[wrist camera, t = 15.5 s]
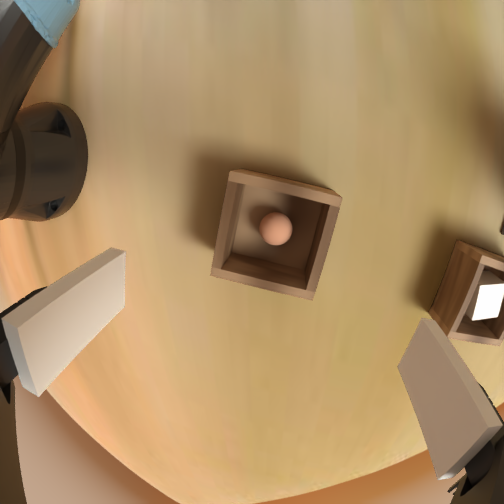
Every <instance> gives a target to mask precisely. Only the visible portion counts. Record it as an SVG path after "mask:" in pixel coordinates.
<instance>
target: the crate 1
mask: <svg viewBox="0 0 504 504" xmlns="http://www.w3.org/2000/svg"><path fill="white" fill-rule="evenodd" d="M341 201H342V197H341V196H340V195H338V194H337V193H336V192H335V191H333V190H329V189H326V188H322V187H318V186H314V185H310V184H306V183H302V182H298V181H294V180H290V179H286V178H281V177H277V176H273V175H268V174H264V173H259V172H255V171H250V170H245V169H237V170H232V171H230V172H229V177H228V182H227V187H226V192H225V197H224V202H223V207H222V213H221V218H220V223H219V229H218V234H217V240H216V245H215V251H214V257H213V262H212V268H211V274H210V276H214V277H218V278H222V279H226V280H230V281H234V282H238V283H242V284H246V285H250V286H254V287H258V288H262V289H266V290H270V291H274V292H278V293H282V294H287V295H291V296H295V297H299V298H303V299H308V300H313V297H314V294H315V291H316V288H317V285H318V282H319V278H320V275H321V272H322V269H323V265H324V262H325V259H326V255H327V252H328V248H329V245H330V241H331V238H332V234H333V231H334V227H335V224H336V220H337V216H338V213H339V209H340V205H341ZM273 212H279V213H282V214H284V215H286V216H287V217H288V218H289V219H290V221H291V223H292V228H293V229H292V234H291V237H290V238H289V240H288V241H287V242H285V243H284V244H281V245H271V244H268V243H267V242H265V241H264V240H263V238H262V237H261V235H260V231H259V227H260V223H261V221H262V219H263V218H264V217H265V216H266V215H268V214H270V213H273Z"/></svg>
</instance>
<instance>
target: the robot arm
mask: <svg viewBox="0 0 504 504" xmlns="http://www.w3.org/2000/svg"><path fill="white" fill-rule="evenodd" d="M79 6H80V0H0V220H3V219H6V218H13V219H21V220H29V221H39V222H40V221H46V220H50V219H53V218H56V217H58V216H61V215H62V214H64V213H65V212H67V211H68V210H69V209H70V208H71V207H72V205H73V204H74V203H75V201H76V200H77V198H78V196H79V194H80V192H81V189H82V187H83V184H84V180H85V176H86V171H87V162H88V149H87V140H86V135H85V132H84V129H83V126H82V124H81V121H80V120H79V118H78V116H77V115H76V114H75V113H74V112H73V111H72V110H71V109H70V108H69V107H67V106H65V105H63V104H58V103H49V102H44V103H38V104H35V105H32V106H29V107H26V108H24V109H21V110H19V109H20V107H21V105H22V103H23V100H24V98H25V96H26V94H27V92H28V90H29V88H30V86H31V84H32V83H33V81H34V79H35V77H36V75H37V73H38V72H39V70H40V68H41V67H42V65H43V63H44V62H45V60H46V58H47V57H48V55H49V54H50V52H51V50H52V49H53V48H56V47H57V45H58V40H59V38H60V37H61V35H62V34H63V32H64V31H65V29H66V27H67V26H68V24H69V23H70V21H71V20H72V18H73V17H74V15H75V14H76V12H77V11H78V8H79ZM125 261H126V251H123V250H119V249H115V248H110V249H108V250H106V251H105V252H103V253H101V254H100V255H98V256H96V257H94V258H93V259H91V260H90V261H88V262H86V263H85V264H83V265H81V266H80V267H78V268H76V269H75V270H73V271H72V272H70V273H68V274H67V275H65V276H64V277H62V278H61V279H59V280H57V281H56V282H54V283H53V284H51V285H50V286H48V287H47V286H46V287H43V288H40V289H37V290H34V291H33V292H31V293H30V294H28V295H27V296H25V298H22V299H21V300H19V301H18V303H15V304H13V305H12V306H10V307H9V308H7V309H6V310H4V311H3V312H1V313H0V504H27V502H26V497H25V493H24V488H23V482H22V477H21V470H20V463H19V455H18V447H17V435H16V420H15V386H14V382H13V379H14V378H15V377H16V376H17V375H19V378H20V381H21V383H22V386H23V387H24V388H25V389H27V390H28V391H30V392H31V393H33V394H35V395H36V396H38V397H39V396H40V395H41V394H42V393H43V391H44V390H45V389H46V388H47V387H48V386H49V385H50V384H51V383H52V382H53V381H54V379H55V378H56V377H57V376H58V375H59V374H60V373H61V372H62V371H63V370H64V369H65V368H66V366H67V365H68V364H69V363H70V362H71V361H72V360H73V359H74V358H75V357H76V356H77V355H78V354H79V353H80V352H81V351H82V349H83V348H84V347H85V346H86V345H87V344H88V343H89V342H90V341H91V340H92V339H93V338H94V337H95V336H96V335H97V334H98V333H99V332H100V331H101V330H102V329H103V328H104V327H105V326H106V325H107V324H108V323H109V322H110V321H111V320H112V319H113V318H114V317H115V316H116V315H117V314H118V313H119V312H120V311H121V310H122V309H123V308H124V307H125ZM397 367H398V369H399V372H400V374H401V377H402V379H403V382H404V384H405V387H406V389H407V392H408V394H409V397H410V400H411V402H412V405H413V408H414V410H415V413H416V416H417V418H418V421H419V424H420V427H421V430H422V433H423V435H424V438H425V441H426V444H427V447H428V450H429V453H430V456H431V459H432V463H433V466H434V469H435V473H436V476H437V479H438V480H440V479H447V478H452V477H454V476H455V475H456V474H458V473H459V472H460V471H461V470H462V469H463V468H464V467H465V470H466V474H465V475H464V476H463V477H462V478H461V479H460V480H458V481H457V482H456V483H455V484H454V485H453V486H452V487H450V489H449V490H448V492H449V493H450V491H452V490H453V489H454V488H456V487H457V489H456V491H455V492H454V493H453V495H454V496H453V499H452V501H451V503H450V504H504V422H503V420H502V418H501V416H500V415H499V413H498V411H497V410H496V408H495V406H494V405H493V403H492V401H491V399H490V398H488V397H489V396H488V395H487V393H486V391H485V390H484V388H483V387H482V386H481V385H480V384H479V383H478V382H477V381H476V379H475V378H474V376H473V374H472V373H471V371H470V370H469V368H468V367H467V365H466V364H465V362H464V361H463V359H462V358H461V356H460V355H459V353H458V352H457V351H456V349H455V348H454V346H453V345H452V343H451V342H450V340H449V339H448V338H447V336H446V335H445V333H444V332H443V331H442V329H441V328H440V327H439V325H438V324H437V322H436V321H435V320H431V319H426V318H421V320H420V322H419V325H418V327H417V329H416V331H415V333H414V335H413V337H412V339H411V341H410V343H409V345H408V347H407V349H406V351H405V353H404V355H403V357H402V359H401V361H400V363H399V364H398V366H397Z"/></svg>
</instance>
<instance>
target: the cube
mask: <svg viewBox="0 0 504 504" xmlns="http://www.w3.org/2000/svg"><path fill="white" fill-rule="evenodd" d="M503 295H504V281H502V280H501V279H500V278H498V277H497V276H496V275H494V274H493V273H491V272H490V271H489V270H487V271H482V274H481V276H480V279H479V282H478V284H477V286H476V289H475V291H474V294H473V296H472V298H471V301H470V303H469V305H468V307H467V310H466V312H465V313H466V315H467V316H468V317H469V318H470V319H471V320H480V319H487V318H494V317H498V314H499V311H500V307H501V303H502V299H503Z"/></svg>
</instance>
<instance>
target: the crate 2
mask: <svg viewBox="0 0 504 504" xmlns="http://www.w3.org/2000/svg"><path fill="white" fill-rule="evenodd" d="M487 270H489V271H490V272H491V273H493V274H494V275H496V276H497V277H498V278H500V279H501V280H502V281H504V257H502V256H500V255H497V254H494V253H492V252H489V251H487V250H484V249H481V248H479V247H476V246H473V245H471V244H468V243H465V242H462V241H460V240H457V241H456V244H455V247H454V250H453V253H452V255H451V258H450V261H449V264H448V267H447V269H446V272H445V274H444V277H443V280H442V282H441V285H440V287H439V290H438V292H437V294H436V297H435V299H434V302H433V304H432V306H431V308H430V311H429V314H430V316H431V317H432V318H433V320H435V321H436V322H437V324H438V325H439V327H440V328H441V329H442V331H443V332H444V333H445V335H446V336H447V338H450V339H456V340H462V341H468V342H475V343H481V344H488V345H495V346H500V345H501V343H502V341H503V339H504V295H503V299H502V303H501V307H500V311H499V314H498V317H494V318H487V319H480V320H471V319H470V318H469V317H468V316H467V315H466V313H465V312H466V310H467V307H468V305H469V303H470V301H471V298H472V296H473V294H474V291H475V289H476V286H477V284H478V282H479V279H480V276H481V274H482V271H487Z"/></svg>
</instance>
